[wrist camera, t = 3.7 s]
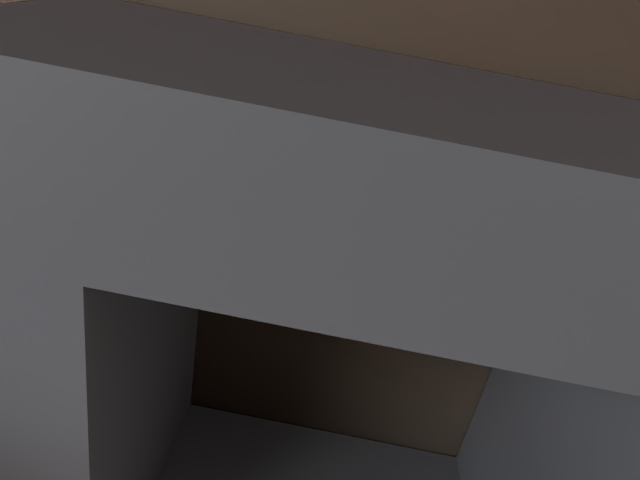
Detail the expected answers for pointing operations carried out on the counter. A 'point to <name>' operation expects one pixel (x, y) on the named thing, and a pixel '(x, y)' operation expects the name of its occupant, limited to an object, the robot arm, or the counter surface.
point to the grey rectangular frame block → (303, 245)
